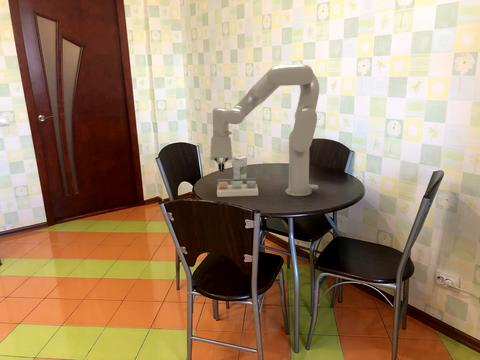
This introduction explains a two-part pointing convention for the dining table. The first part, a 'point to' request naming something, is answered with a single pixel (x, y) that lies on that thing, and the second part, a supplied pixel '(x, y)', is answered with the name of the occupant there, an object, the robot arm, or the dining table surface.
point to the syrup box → (239, 167)
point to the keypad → (237, 188)
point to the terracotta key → (222, 184)
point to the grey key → (251, 183)
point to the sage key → (237, 183)
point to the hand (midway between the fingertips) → (221, 171)
